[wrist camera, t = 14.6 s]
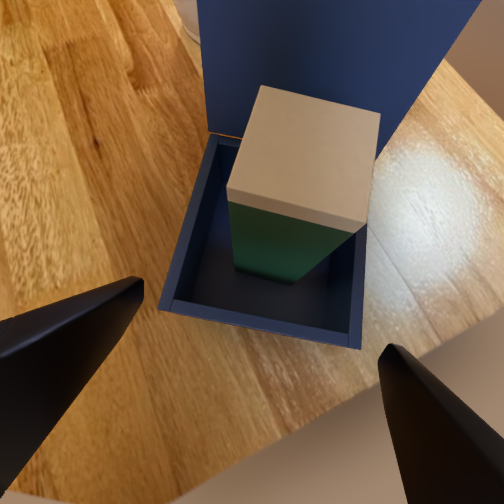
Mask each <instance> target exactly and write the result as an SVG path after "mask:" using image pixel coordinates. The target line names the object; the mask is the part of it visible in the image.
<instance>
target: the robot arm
mask: <svg viewBox="0 0 504 504" xmlns="http://www.w3.org/2000/svg"><path fill="white" fill-rule="evenodd" d="M143 299H144V280H143V279H142V278H138V277H135V276H130V277H127V278H124V279H122V280H119V281H116V282H113V283H110V284H107V285H104V286H101V287H98V288H95V289H92V290H90V291H87V292H84V293H81V294H78V295H75V296H72V297H69V298H66V299H63V300H60V301H58V302H55V303H52V304H49V305H46V306H43V307H40V308H37V309H34V310H31V311H28V312H25V313H23V314H20V315H17V316H15V317H14V318H13V317H11V318H8V319H5V320H2V321H0V498H1V497H2V496H3V494H4V493H5V491H6V490H7V489H8V487H9V486H10V485H11V483H12V482H13V481H14V480H15V478H16V477H17V476H18V474H19V473H20V472H21V470H22V469H23V468H24V466H25V465H26V464H27V462H28V461H29V460H30V458H31V457H32V456H33V454H34V453H35V452H36V450H37V449H38V448H39V446H40V445H41V444H42V442H43V441H44V440H45V438H46V437H47V436H48V434H49V433H50V432H51V430H52V429H53V428H54V426H55V425H56V424H57V422H58V421H59V420H60V418H61V417H62V416H63V415H64V413H65V412H66V411H67V409H68V408H69V407H70V405H71V404H72V403H73V401H74V400H75V399H76V397H77V396H78V395H79V393H80V392H81V391H82V389H83V388H84V387H85V385H86V384H87V383H88V381H89V380H90V379H91V377H92V376H93V375H94V373H95V372H96V371H97V369H98V368H99V367H100V365H101V364H102V363H103V361H104V360H105V359H106V357H107V356H108V355H109V353H110V352H111V351H112V350H113V348H114V347H115V346H116V344H117V343H118V341H119V340H120V339H121V337H122V335H123V334H124V332H125V331H126V329H127V327H128V326H129V324H130V322H131V321H132V319H133V317H134V316H135V314H136V312H137V311H138V309H139V307H140V306H141V304H142V302H143ZM378 371H379V378H380V385H381V391H382V398H383V404H384V410H385V414H386V418H387V422H388V427H389V431H390V435H391V438H392V442H393V446H394V450H395V454H396V458H397V462H398V466H399V470H400V474H401V478H402V482H403V486H404V490H405V494H406V498H407V502H408V504H504V439H503V438H502V437H501V436H500V435H499V434H498V433H497V432H496V431H494V429H492V428H491V427H490V426H489V425H488V424H487V423H486V422H485V421H484V420H483V419H481V418H480V417H479V416H478V415H477V414H476V413H475V412H474V411H473V410H472V409H471V408H470V407H468V406H467V405H466V404H465V403H464V402H463V401H462V400H461V399H460V398H459V397H458V396H456V395H455V394H454V393H453V392H452V391H451V390H450V389H449V388H448V387H447V386H445V385H444V384H443V383H442V382H441V381H440V380H439V379H438V378H437V377H436V376H435V375H433V374H432V373H431V372H430V371H429V370H428V369H427V368H426V367H425V366H423V365H422V364H421V363H420V362H419V361H418V360H417V359H416V358H415V357H414V356H413V355H412V354H411V353H409V352H408V351H407V350H406V349H405V348H404V347H403V346H400V345H396V344H393V343H390V344H388V345H387V346H386V348H385V349H384V351H383V352H382V354H381V355H380V357H379V359H378Z"/></svg>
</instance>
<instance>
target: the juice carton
mask: <svg viewBox="0 0 504 504" xmlns="http://www.w3.org/2000/svg"><path fill="white" fill-rule="evenodd" d="M380 115H381V114H380V113H376V112H372V111H368V110H364V109H359V108H355V107H351V106H347V105H343V104H339V103H334V102H330V101H326V100H322V99H318V98H314V97H309V96H305V95H301V94H297V93H293V92H289V91H284V90H280V89H276V88H272V87H268V86H263V85H261V86H260V89H259V92H258V95H257V98H256V101H255V104H254V107H253V110H252V113H251V116H250V119H249V122H248V125H247V128H246V130H245V133H244V136H243V139H242V142H241V145H240V148H239V151H238V154H237V157H236V160H235V163H234V166H233V169H232V172H231V175H230V178H229V180H228V183H227V186H226V187H227V197H228V206H229V216H230V226H231V237H232V247H233V257H234V268H235V271H237V272H240V273H244V274H248V275H252V276H255V277H259V278H263V279H267V280H270V281H274V282H278V283H282V284H285V285H289V286H292V285H293V284H294V283H295V282H297V281H298V280H299V279H300V278H301V277H303V276H304V275H305V274H306V273H307V272H309V271H310V270H311V269H312V268H313V267H314V266H316V265H317V264H318V263H319V262H320V261H322V260H323V259H324V258H325V257H326V256H328V255H329V254H330V253H331V252H332V251H334V250H335V249H336V248H337V247H338V246H339V245H341V244H342V243H343V242H344V241H345V240H347V239H348V238H349V237H350V236H351V235H353V233H355V232H356V231H358V230H359V229H360V228H361V227H362V226H364V225H365V224H366V223H367V218H368V210H369V202H370V194H371V186H372V178H373V171H374V163H375V155H376V147H377V139H378V131H379V123H380Z"/></svg>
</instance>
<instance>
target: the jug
mask: <svg viewBox="0 0 504 504" xmlns="http://www.w3.org/2000/svg"><path fill="white" fill-rule="evenodd" d="M173 2H174V4H175V6H176V9H177V11H178V13H179V16H180V17H181V20H182V24H183V27H184V29H185V31H186V33H187V34H188V35H189V36H190V37H191V38H192V39H193V40H194V41H195V42H197V43H198V44H200V35H199V24H198V13H197V2H196V0H173Z"/></svg>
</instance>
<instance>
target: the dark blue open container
mask: <svg viewBox="0 0 504 504" xmlns="http://www.w3.org/2000/svg"><path fill="white" fill-rule="evenodd" d="M241 142H242V139H237V138H231V137H226V136H220V135H216V134H210V136H209V140H208V143H207V146H206V149H205V153H204V156H203V159H202V163H201V166H200V169H199V173H198V176H197V179H196V182H195V186H194V189H193V192H192V196H191V199H190V202H189V205H188V209H187V212H186V215H185V219H184V222H183V225H182V229H181V232H180V235H179V238H178V242H177V245H176V248H175V252H174V255H173V258H172V262H171V265H170V268H169V271H168V275H167V278H166V281H165V285H164V288H163V291H162V295H161V298H160V301H159V304H158V308H157V309H158V310H163V311H167V312H171V313H175V314H180V315H185V316H190V317H195V318H200V319H205V320H210V321H215V322H220V323H225V324H230V325H235V326H240V327H245V328H250V329H255V330H259V331H264V332H269V333H274V334H279V335H284V336H289V337H294V338H299V339H304V340H309V341H314V342H319V343H324V344H330V345H335V346H341V347H347V348H352V349H358V350H361V339H362V319H363V299H364V279H365V259H366V239H367V223H366V224H365V225H364V226H362V227H361V228H360V229H359V230H358V231H356V232H355V233H353V235H351V236H350V237H349V238H348V239H347V240H345V241H344V242H343V243H342V244H341V245H339V246H338V247H337V248H336V249H335V250H334V251H332V252H331V253H330V254H329V255H328V256H326V257H325V258H324V259H323V260H322V261H320V262H319V263H318V264H317V265H316V266H314V267H313V268H312V269H311V270H310V271H309V272H307V273H306V274H305V275H304V276H303V277H301V278H300V279H299V280H298V281H297V282H295V283H294V284H293V285H292V286H289V285H285V284H282V283H278V282H274V281H270V280H267V279H263V278H259V277H255V276H252V275H248V274H244V273H240V272H237V271H235V268H234V257H233V247H232V237H231V226H230V216H229V206H228V197H227V187H226V186H227V183H228V180H229V178H230V175H231V172H232V169H233V166H234V163H235V160H236V157H237V154H238V151H239V148H240V145H241ZM367 219H368V218H367Z"/></svg>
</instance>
